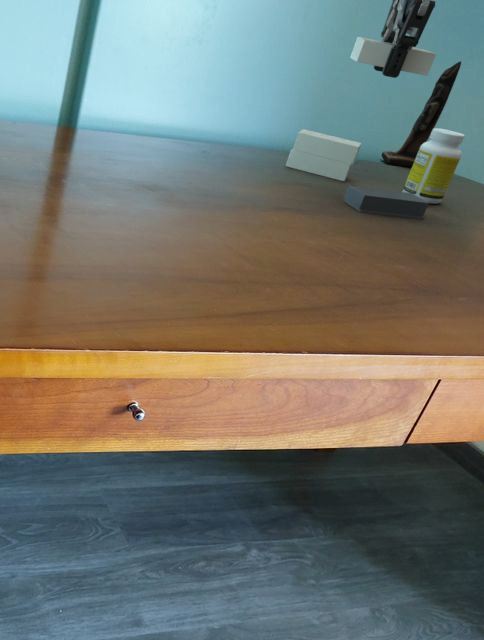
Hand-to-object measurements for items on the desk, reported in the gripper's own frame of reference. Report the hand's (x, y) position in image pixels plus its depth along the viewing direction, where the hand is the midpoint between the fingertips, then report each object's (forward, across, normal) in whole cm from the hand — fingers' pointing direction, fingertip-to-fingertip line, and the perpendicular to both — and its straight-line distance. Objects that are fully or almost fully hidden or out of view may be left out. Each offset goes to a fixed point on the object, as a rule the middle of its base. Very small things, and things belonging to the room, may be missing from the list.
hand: (384, 73), depth 108 cm
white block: (-1, 0, 0) cm, 1 cm away
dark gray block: (+18, -14, -4) cm, 23 cm away
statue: (+19, +34, -17) cm, 43 cm away
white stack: (+18, +12, +2) cm, 22 cm away
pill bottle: (+18, +7, -14) cm, 24 cm away
